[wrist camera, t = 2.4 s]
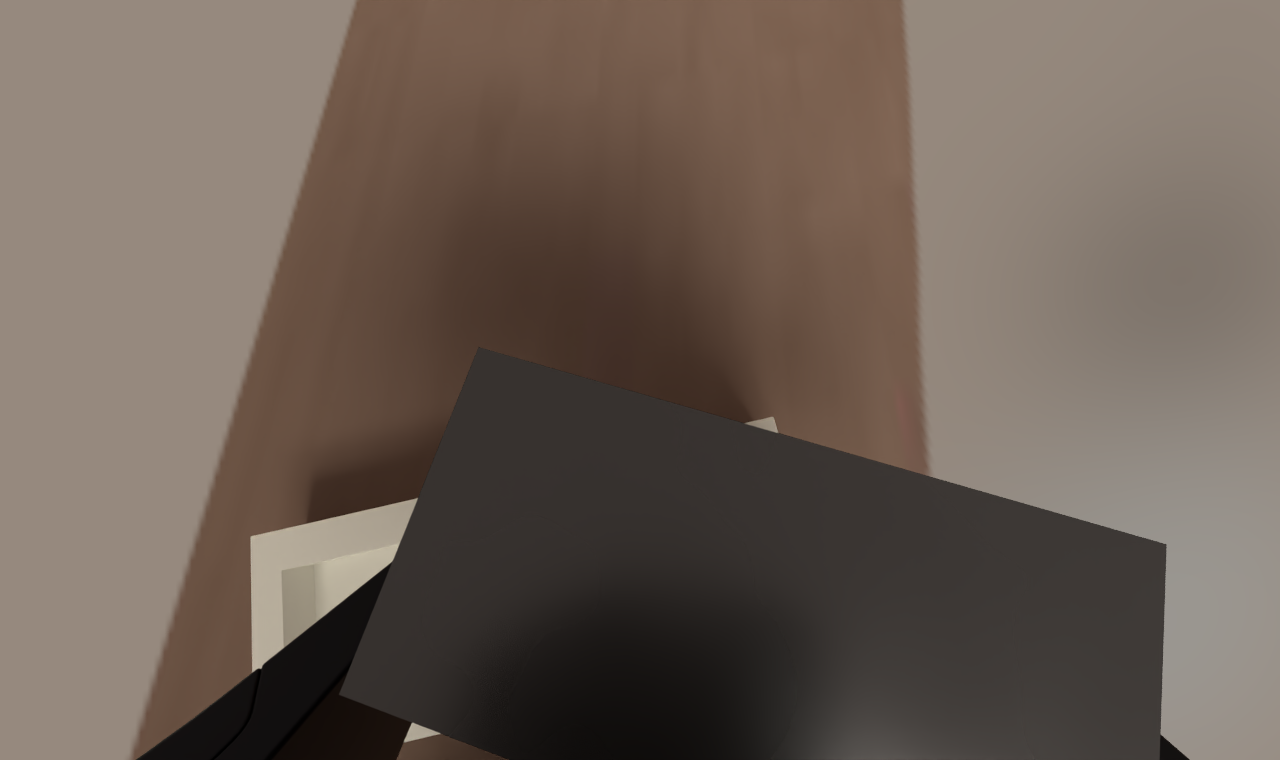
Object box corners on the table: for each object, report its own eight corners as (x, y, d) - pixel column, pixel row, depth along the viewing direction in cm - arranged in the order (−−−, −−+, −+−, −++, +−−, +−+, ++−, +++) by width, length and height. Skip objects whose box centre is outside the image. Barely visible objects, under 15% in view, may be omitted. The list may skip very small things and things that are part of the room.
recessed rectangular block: (813, 617, 17) (839, 636, 14) (312, 738, 16) (253, 778, 14) (758, 427, 19) (773, 416, 16) (304, 532, 18) (250, 536, 16)
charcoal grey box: (760, 608, 15) (1151, 1003, 3) (578, 549, 15) (339, 694, 4) (783, 508, 15) (1165, 525, 4) (608, 455, 16) (484, 332, 4)
